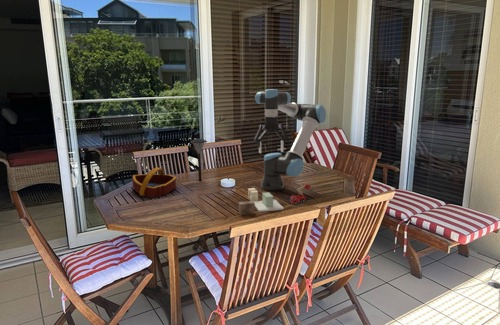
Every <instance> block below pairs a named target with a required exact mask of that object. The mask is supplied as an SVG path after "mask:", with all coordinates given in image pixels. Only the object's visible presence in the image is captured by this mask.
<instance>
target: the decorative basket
mask: <svg viewBox="0 0 500 325" xmlns="http://www.w3.org/2000/svg"><path fill="white" fill-rule="evenodd" d="M157 173H158V174H157ZM176 187H177V176H174V175H171V174H165V172H164V169H163V168H160V167H154V168H153V169H151V170H150V171H149V172H148V173H147V174H145V173H144V174H133V175H132V188H133V190H134V191H135V192H136V193H138V194H139V196H140V197H141V196H142V197H144V196H145V197H148V198H156V197H161V196H165V195H168V194H169V193H170V192H172V191H173V190H174V189H176Z"/></svg>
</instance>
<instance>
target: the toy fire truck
mask: <svg viewBox="0 0 500 325" xmlns="http://www.w3.org/2000/svg"><path fill="white" fill-rule="evenodd" d="M303 189H305V190H310V189H311V185H309V184H306V183H304V184H302V186H300V187H299V188H297V189H296V192H297V193H298V194H297V195H291V196H290V200H289V202H290V203H291V204H293V205H294V204H295V205H297V204H298V203H304V202H305V201H306V200H307V199H306V196H305V195H304V193H303V191H302V190H303Z"/></svg>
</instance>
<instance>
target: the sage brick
mask: <svg viewBox="0 0 500 325" xmlns="http://www.w3.org/2000/svg"><path fill="white" fill-rule="evenodd" d="M261 197H262V200H261V201H262V203H263V204H264V205H265V206H266V207H273V200H274V195H273V194H271V193H270V192H268V191H267V192H262V196H261Z"/></svg>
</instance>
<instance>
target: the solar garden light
mask: <svg viewBox="0 0 500 325" xmlns="http://www.w3.org/2000/svg"><path fill="white" fill-rule="evenodd" d="M207 142H208V141H207V140H206V139H204V138H194V139H193V140H191V141H190V142H189V143H191V144H193V147H194V149H195V150H196V152H197V166H198V181H199V182H202V162H201V161H202V160H201V153H202V150H203V148H204V145H205V143H207Z"/></svg>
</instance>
